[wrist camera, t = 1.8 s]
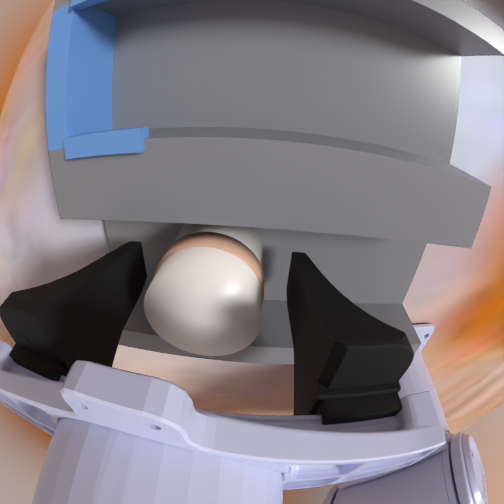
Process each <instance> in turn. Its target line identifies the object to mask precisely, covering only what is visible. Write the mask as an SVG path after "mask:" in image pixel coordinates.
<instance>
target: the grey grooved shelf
mask: <svg viewBox="0 0 504 504" xmlns="http://www.w3.org/2000/svg"><path fill="white" fill-rule="evenodd" d="M480 55H501V56H504V32H503V29H501V28H500V27H499V26H498V25H496V24H495V23H494V22H492V21H491V20H490V19H488V18H487V17H486V16H484V15H483V14H481V13H480V12H479V11H477V10H476V9H474V8H473V7H471V6H470V5H468V4H467V3H465V2H463V1H462V0H56V1H55V6H54V11H53V16H52V22H51V28H50V35H49V43H48V52H47V64H46V91H45V100H46V127H47V140H48V151H49V159H50V167H51V174H52V180H53V186H54V192H55V197H56V202H57V207H58V211H59V216H60V219H83V220H104V223H105V229H106V234H107V238H108V243H109V248H110V252H111V251H113V250H115V249H116V248H118V247H120V246H121V245H123V244H125V243H127V242H130V241H137V242H141V244H142V250H143V256H144V261H145V267H146V272H147V279H146V282H145V285H144V287H143V290H142V293H141V295H140V297H139V299H138V301H137V303H136V305H135V307H134V309H133V311H132V313H131V315H130V317H129V319H128V321H127V323H126V325H125V327H124V329H123V332H122V334H121V337H120V340H119V343H118V344H119V345H124V346H128V347H133V348H139V349H144V350H150V351H155V352H161V353H168V354H174V355H181V356H188V357H196V358H204V359H213V360H223V361H235V362H248V363H265V364H294V349H293V341H292V334H291V328H290V321H289V315H288V308H287V281H288V275H289V269H290V262H291V256H292V252H303V253H306V254H307V256H308V257H309V258H310V259H311V261H312V262H313V263H314V264H315V265H316V267H317V268H318V269H319V270H320V272H321V273H322V274H323V275H324V276H325V277H326V278H327V279H328V281H329V282H330V283H331V284H332V285H333V286H334V287H335V288H336V289H337V290H338V291H340V292H341V293H342V294H343V295H344V296H345V297H346V298H348V299H349V300H350V301H351V302H353V303H354V304H355V305H357V306H358V307H359V308H361V309H362V310H364V311H365V312H367V313H368V314H370V315H372V316H373V317H375V318H377V319H378V320H380V321H382V322H384V323H386V324H388V325H390V326H392V327H394V328H397V329H399V330H401V331H403V332H405V333H406V335H407V337H408V339H409V342H410V344H411V346H412V349H413V352H414V354H415V353H416V351H417V350H418V348H419V347H420V345H421V342H420V339H419V337H418V335H417V333H416V331H415V329H414V327H413V325H412V323H411V321H410V319H409V317H408V315H407V313H406V311H405V309H404V307H403V305H402V302H403V300H404V298H405V296H406V294H407V291H408V289H409V287H410V284H411V282H412V280H413V277H414V275H415V273H416V270H417V268H418V265H419V263H420V260H421V257H422V255H423V252H424V249H425V247H426V244H427V243H430V244H439V245H447V246H455V247H463V248H471V247H472V244H473V242H474V239H475V236H476V234H477V231H478V228H479V225H480V223H481V220H482V217H483V213H484V210H485V207H486V204H487V200H488V197H489V193H490V190H491V187H490V186H489V185H487V184H485V183H484V182H482V181H480V180H479V179H477V178H475V177H473V176H471V175H470V174H468V173H466V172H464V171H462V170H460V169H458V168H456V167H454V166H452V165H450V164H449V163H450V158H451V153H452V147H453V142H454V136H455V129H456V122H457V114H458V105H459V93H460V76H461V56H480ZM185 223H189V224H207V225H224V226H240V227H254V228H255V229H256V230H257V232H258V234H259V236H260V238H261V242H262V247H263V254H262V268H263V272H264V301H263V305H262V307H261V327H260V331H259V333H258V335H257V337H256V338H255V340H254V341H253V342H252V343H251V344H250V345H249V346H247V347H246V348H244V349H243V350H241V351H238V352H236V353H233V354H229V355H223V356H203V355H197V354H193V353H189V352H186V351H184V350H181V349H179V348H177V347H175V346H173V345H171V344H170V343H168V342H167V341H165V340H164V339H163V338H161V337H160V336H159V335H158V334H157V333H156V332H155V331H154V329H153V328H152V327H151V325H150V324H149V322H148V320H147V318H146V315H145V311H144V297H145V294H146V292H147V290H148V288H149V286H150V284H151V282H152V280H153V278H154V274H155V271H156V268H157V266H158V264H159V262H160V261H161V259H162V257H163V255H164V254H165V252H166V250H167V249H168V248H169V246H170V245H171V244H172V243H173V242H174V241H175V239H176V237H177V235H178V234H179V232H180V230H181V229H182V227H183V226H184V224H185Z"/></svg>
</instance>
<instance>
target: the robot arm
mask: <svg viewBox="0 0 504 504" xmlns="http://www.w3.org/2000/svg"><path fill="white" fill-rule="evenodd" d="M146 279H147V272H146V267H145V261H144V256H143V250H142V244H141V242H137V241H130V242H127V243H125V244H123V245H121V246H120V247H118V248H116V249H115V250H113V251H111V252H110V253H108V254H106V255H105V256H103V257H101V258H100V259H98V260H96V261H95V262H93V263H91V264H89V265H88V266H86V267H84V268H82V269H80V270H78V271H76V272H74V273H72V274H70V275H68V276H66V277H63V278H61V279H58V280H56V281H53V282H50V283H48V284H44V285H41V286H38V287H34V288H30V289H26V290H21V291H16V292H12V293H11V294H10V295H9V296H8V298H7V299H6V300H5V301H4V302H3V304H2V305H1V306H0V316H1V319H2V321H3V323H4V325H5V327H6V328H7V330H8V331H9V333H10V335H11V336H12V338H13V339H14V341H15V342H16V344H15V346H14V347H12V346H11V345H10V344H8V343H7V342H5V341H3V340H1V339H0V402H1V403H2V404H4V405H5V406H6V407H8V408H9V409H11V410H12V411H14V412H15V413H17V414H18V415H20V416H21V417H23V418H24V419H26V420H27V421H29V422H30V423H32V424H34V425H35V426H37V427H38V428H40V429H42V430H43V431H45V432H47V433H48V434H50V435H52V436H53V437H52V440H51V443H50V446H49V448H48V451H47V454H46V457H45V460H44V463H43V466H42V470H41V473H40V476H39V480H38V484H37V487H36V490H35V494H34V498H33V502H32V504H282V500H283V497H282V495H283V494H282V493H283V492H282V491H283V490H285V489H286V490H287V489H299V488H308V487H316V486H323V485H330V484H335V485H334V486H333V487H332V488H331V489H330V491H329V492H328V494H327V496H326V498H325V500H324V503H323V504H488V499H487V493H486V492H487V491H486V480H485V475H484V469H483V465H482V461H481V458H480V455H479V452H478V449H477V446H476V444H475V442H474V440H473V438H472V437H471V436H470V435H467V434H463V433H462V432H459V433H457V434H452V433H449V429H448V426H447V422H446V419H445V416H444V413H443V410H442V407H441V404H440V401H439V399H438V396H437V393H436V390H435V388H434V385H433V382H432V380H431V377H430V375H429V372H428V370H427V367H426V365H425V362H424V360H423V358H422V355H421V353H420V351H421V350H422V348H423V347H424V345H425V344H426V342H427V341H428V339H429V338H430V336H431V335H432V333H433V331H434V329H435V328H434V326H433V324H418V325H413V327H414V329H415V331H416V333H417V335H418V337H419V339H420V342H421V345H420V347H419V348H418V350H417V351H416V353H415V354H414V352H413V349H412V346H411V344H410V342H409V339H408V337H407V335H406V333H405V332H403V331H401V330H399V329H397V328H394V327H392V326H390V325H388V324H386V323H384V322H382V321H380V320H378V319H377V318H375V317H373V316H372V315H370V314H368V313H367V312H365V311H364V310H362V309H361V308H359V307H358V306H357V305H355V304H354V303H353V302H351V301H350V300H349V299H348V298H346V297H345V296H344V295H343V294H342V293H341V292H340V291H338V290H337V289H336V288H335V287H334V286H333V285H332V284H331V283H330V282H329V281H328V279H327V278H326V277H325V276H324V275H323V274H322V273H321V272H320V270H319V269H318V268H317V267H316V265H315V264H314V263H313V262H312V261H311V259H310V258H309V257H308V256H307V254H306V253H303V252H292V256H291V262H290V269H289V275H288V281H287V308H288V315H289V321H290V328H291V334H292V341H293V349H294V416H275V415H249V414H234V413H223V412H213V411H205V410H200V409H196V408H194V405H193V401H192V399H191V398H190V397H189V396H188V394H187V393H186V392H185V391H184V389H182V388H180V387H179V386H177V385H175V384H173V383H172V382H170V381H167V380H163V379H160V378H157V377H153V376H148V375H143V374H138V373H134V372H129V371H125V370H121V369H117V368H113V367H112V365H113V361H114V357H115V353H116V350H117V346H118V343H119V340H120V337H121V334H122V332H123V329H124V327H125V325H126V323H127V321H128V319H129V317H130V315H131V313H132V311H133V309H134V307H135V305H136V303H137V301H138V299H139V297H140V295H141V293H142V290H143V287H144V285H145V282H146ZM336 483H337V484H336Z"/></svg>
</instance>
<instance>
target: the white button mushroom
mask: <svg viewBox="0 0 504 504" xmlns="http://www.w3.org/2000/svg"><path fill="white" fill-rule="evenodd" d="M262 254H263V247H262V242H261V238H260V236H259V234H258V232H257V230H256V229H255V228H254V227H240V226H224V225H207V224H189V223H185V224H184V226H183V227H182V229H181V230H180V232H179V234H178V235H177V237H176V239H175V241H174V242H173V243H172V244H171V245H170V246H169V248H168V249H167V250H166V252H165V254H164V255H163V257H162V259H161V261H160V262H159V264H158V266H157V268H156V271H155V274H154V278H153V280H152V282H151V284H150V286H149V288H148V290H147V292H146V294H145V297H144V311H145V315H146V318H147V320H148V322H149V324H150V325H151V327H152V328H153V329H154V331H155V332H156V333H157V334H158V335H159V336H160V337H161V338H163V339H164V340H165V341H167V342H168V343H170V344H171V345H173V346H175V347H177V348H179V349H181V350H184V351H186V352H189V353H193V354H197V355H203V356H223V355H229V354H233V353H236V352H238V351H241V350H243V349H244V348H246V347H247V346H249V345H250V344H251V343H252V342H253V341H254V340H255V338H256V337H257V335H258V333H259V331H260V327H261V307H262V305H263V301H264V272H263V268H262Z"/></svg>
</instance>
